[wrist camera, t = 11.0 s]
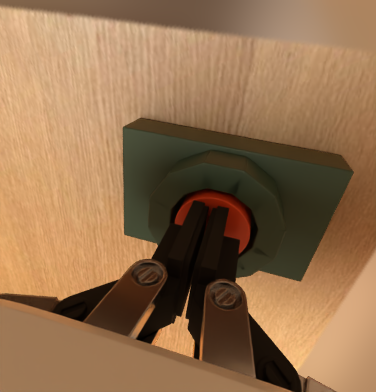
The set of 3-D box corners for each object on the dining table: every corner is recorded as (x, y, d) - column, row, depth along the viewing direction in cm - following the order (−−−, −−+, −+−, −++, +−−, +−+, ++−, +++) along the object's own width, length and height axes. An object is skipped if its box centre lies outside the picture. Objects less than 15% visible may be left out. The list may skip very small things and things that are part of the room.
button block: (341, 154, 13) (369, 190, 10) (296, 256, 17) (305, 308, 13) (139, 117, 15) (103, 136, 11) (138, 216, 18) (109, 253, 15)
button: (259, 189, 12) (258, 208, 11) (242, 246, 14) (240, 268, 13) (187, 174, 13) (178, 189, 12) (180, 230, 15) (171, 250, 13)
